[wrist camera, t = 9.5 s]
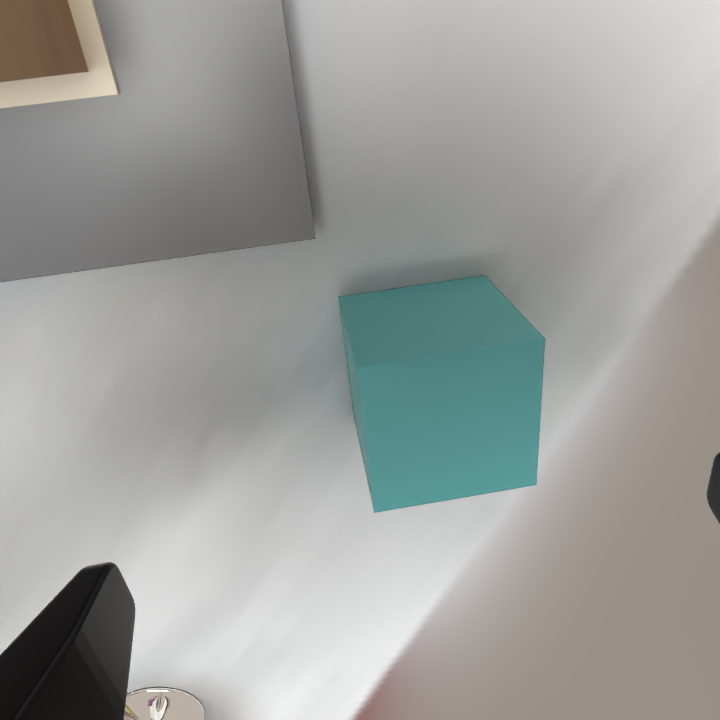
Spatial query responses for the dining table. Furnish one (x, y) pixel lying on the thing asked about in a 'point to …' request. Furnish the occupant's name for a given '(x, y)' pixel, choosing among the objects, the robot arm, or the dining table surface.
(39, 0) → the walnut block
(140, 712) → the wineglass
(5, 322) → the dining table surface
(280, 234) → the base plate
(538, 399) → the teal block
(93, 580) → the robot arm
